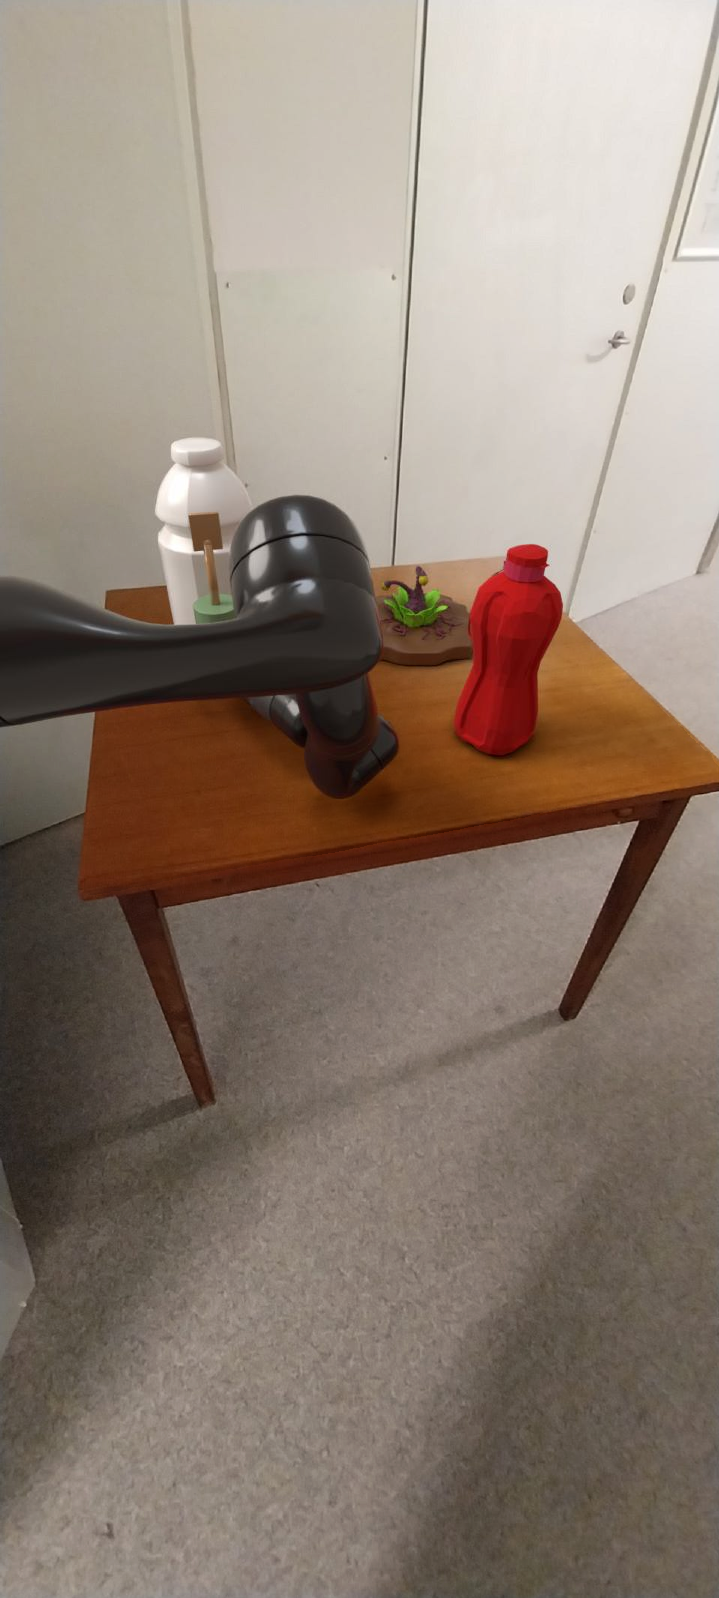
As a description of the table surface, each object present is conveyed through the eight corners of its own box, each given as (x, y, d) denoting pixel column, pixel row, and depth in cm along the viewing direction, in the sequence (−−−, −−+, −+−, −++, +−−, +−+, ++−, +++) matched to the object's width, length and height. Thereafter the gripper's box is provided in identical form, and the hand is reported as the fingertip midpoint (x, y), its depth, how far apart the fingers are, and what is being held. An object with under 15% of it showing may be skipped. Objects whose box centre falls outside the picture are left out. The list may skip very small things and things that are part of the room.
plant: (359, 669, 99) (361, 599, 91) (345, 608, 113) (345, 542, 105) (490, 663, 101) (502, 593, 93) (459, 603, 115) (468, 539, 108)
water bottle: (477, 701, 94) (508, 520, 77) (541, 737, 88) (590, 550, 71) (433, 726, 89) (455, 540, 72) (497, 766, 83) (537, 574, 66)
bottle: (251, 665, 99) (231, 463, 80) (163, 656, 101) (122, 455, 81) (275, 620, 109) (262, 432, 90) (194, 612, 111) (164, 425, 92)
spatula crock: (207, 695, 93) (179, 524, 77) (203, 673, 97) (176, 506, 81) (250, 689, 94) (231, 520, 78) (244, 667, 99) (225, 502, 83)
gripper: (322, 643, 84) (254, 594, 94) (219, 679, 77) (159, 622, 87) (323, 693, 89) (259, 642, 99) (227, 731, 82) (169, 672, 92)
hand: (212, 633), depth 93 cm, fingers closed on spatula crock, 6 cm apart
